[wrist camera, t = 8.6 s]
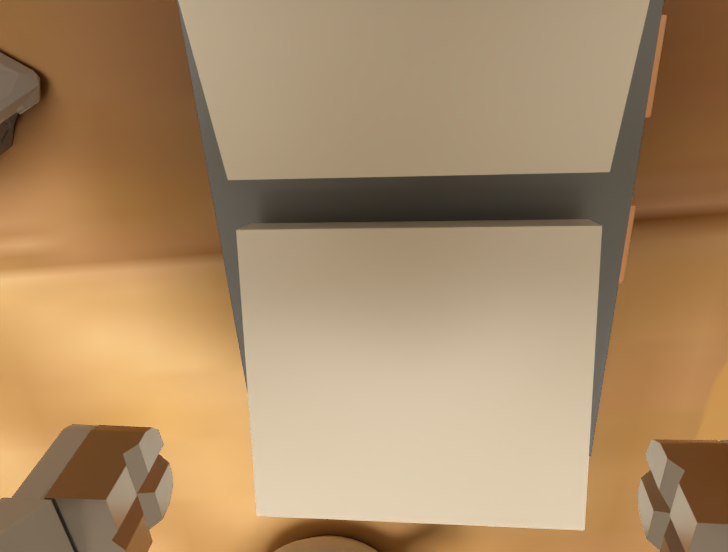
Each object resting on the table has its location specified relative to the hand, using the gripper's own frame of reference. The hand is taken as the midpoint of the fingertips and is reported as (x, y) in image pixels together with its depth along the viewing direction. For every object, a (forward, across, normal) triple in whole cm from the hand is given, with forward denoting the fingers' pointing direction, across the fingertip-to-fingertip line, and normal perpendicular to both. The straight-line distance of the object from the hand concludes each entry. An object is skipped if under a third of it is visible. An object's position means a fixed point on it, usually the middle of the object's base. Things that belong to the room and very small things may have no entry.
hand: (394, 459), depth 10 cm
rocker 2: (+9, 0, +5) cm, 10 cm away
